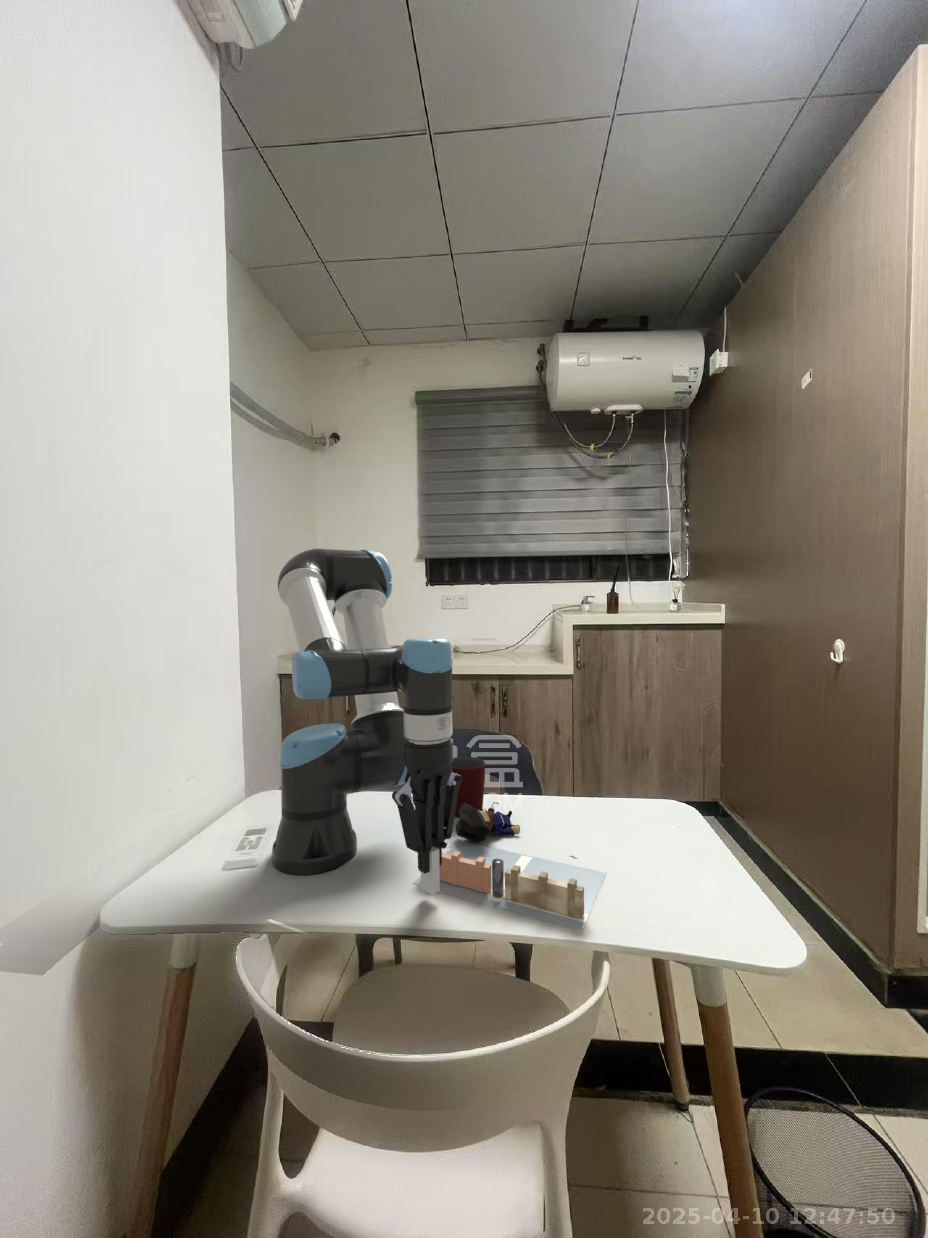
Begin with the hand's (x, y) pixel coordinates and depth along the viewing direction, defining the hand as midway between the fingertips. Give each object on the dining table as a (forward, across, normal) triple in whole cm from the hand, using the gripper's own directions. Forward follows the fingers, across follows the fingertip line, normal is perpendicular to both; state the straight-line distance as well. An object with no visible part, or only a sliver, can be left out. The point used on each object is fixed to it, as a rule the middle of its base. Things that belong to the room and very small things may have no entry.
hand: (430, 889), depth 78 cm
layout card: (+2, +13, -5) cm, 14 cm away
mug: (+2, +28, +21) cm, 35 cm away
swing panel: (+1, +6, 0) cm, 6 cm away
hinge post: (+2, +8, -7) cm, 11 cm away
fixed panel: (+1, +10, -14) cm, 17 cm away
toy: (+2, +23, +8) cm, 25 cm away
